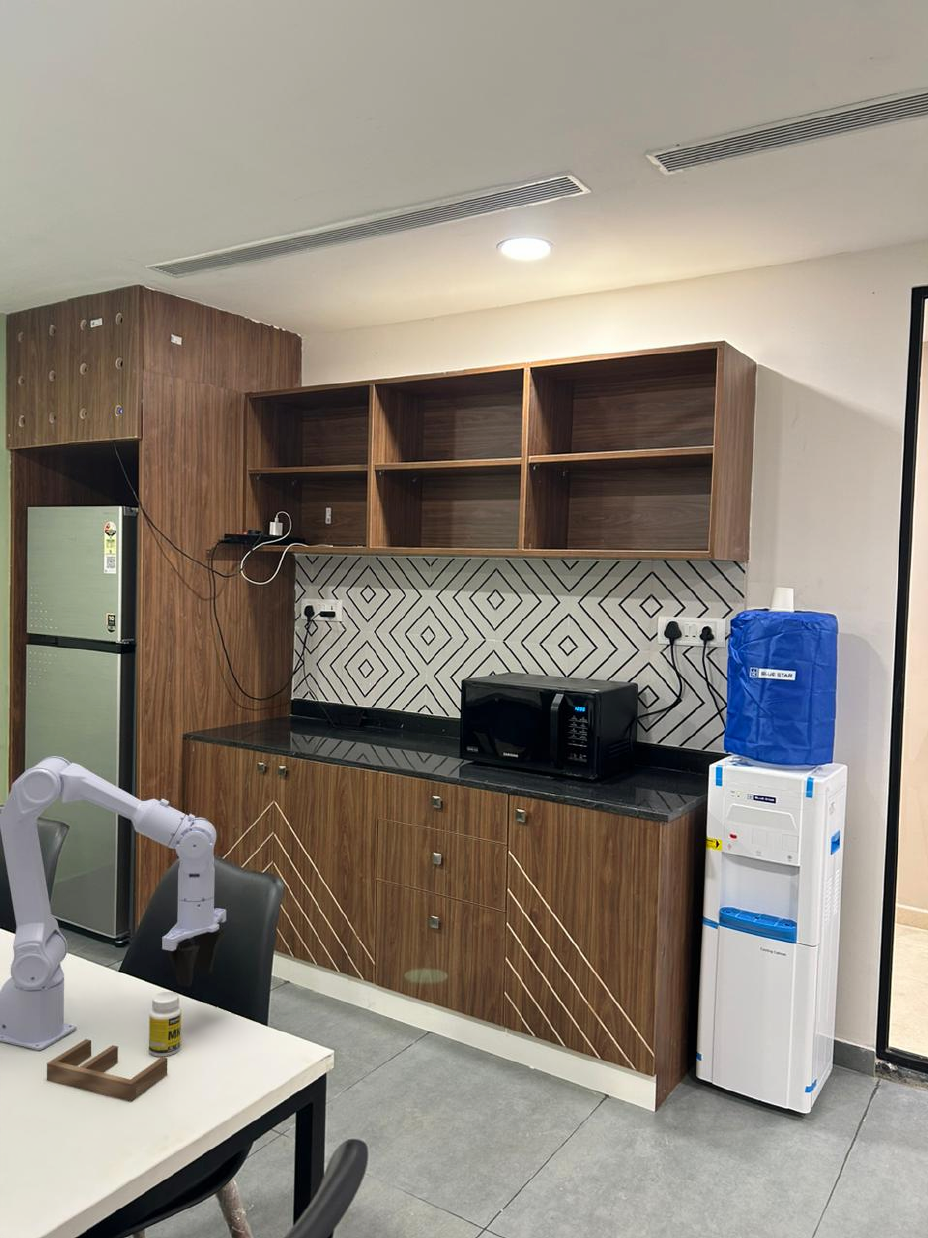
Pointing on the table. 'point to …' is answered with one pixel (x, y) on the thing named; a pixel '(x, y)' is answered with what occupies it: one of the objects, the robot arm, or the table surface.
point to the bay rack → (93, 1076)
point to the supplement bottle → (165, 1024)
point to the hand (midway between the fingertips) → (194, 978)
